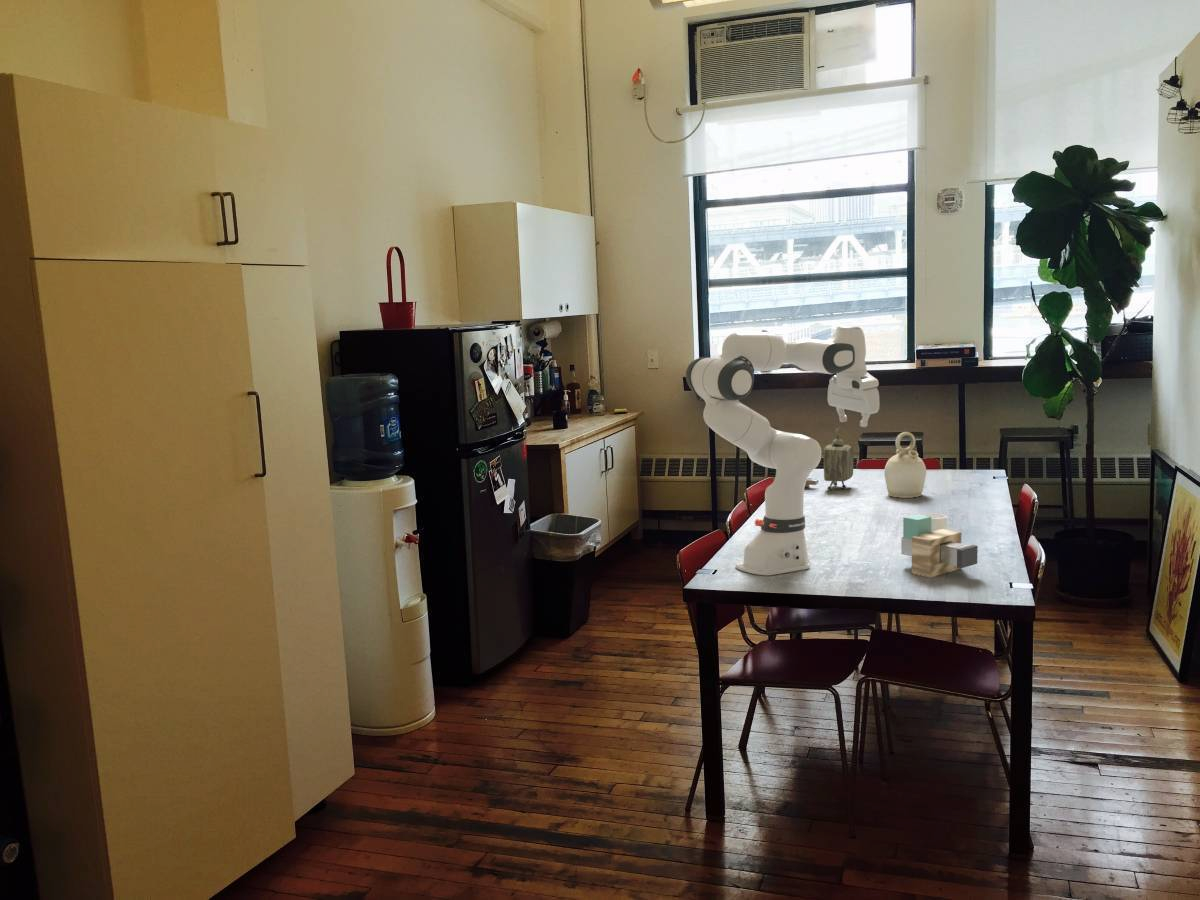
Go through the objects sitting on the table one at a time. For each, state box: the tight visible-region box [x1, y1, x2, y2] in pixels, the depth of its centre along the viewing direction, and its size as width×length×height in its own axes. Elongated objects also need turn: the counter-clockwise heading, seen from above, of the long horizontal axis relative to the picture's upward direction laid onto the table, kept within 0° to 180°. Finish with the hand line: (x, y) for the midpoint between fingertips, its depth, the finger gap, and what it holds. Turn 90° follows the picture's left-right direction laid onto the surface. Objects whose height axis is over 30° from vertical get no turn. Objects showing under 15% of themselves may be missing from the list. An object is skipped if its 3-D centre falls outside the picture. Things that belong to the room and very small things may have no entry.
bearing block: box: [911, 528, 962, 579], centre depth 277 cm, size 14×6×10 cm, turn 125°
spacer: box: [902, 514, 932, 540], centre depth 282 cm, size 6×5×6 cm
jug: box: [883, 431, 927, 499], centre depth 384 cm, size 15×16×25 cm
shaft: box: [900, 536, 979, 569], centre depth 277 cm, size 7×20×5 cm, turn 35°
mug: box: [919, 512, 948, 532], centre depth 295 cm, size 12×8×12 cm
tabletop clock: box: [823, 427, 854, 491], centre depth 404 cm, size 14×9×25 cm, turn 154°
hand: (853, 424), depth 300 cm, fingers open, 8 cm apart
